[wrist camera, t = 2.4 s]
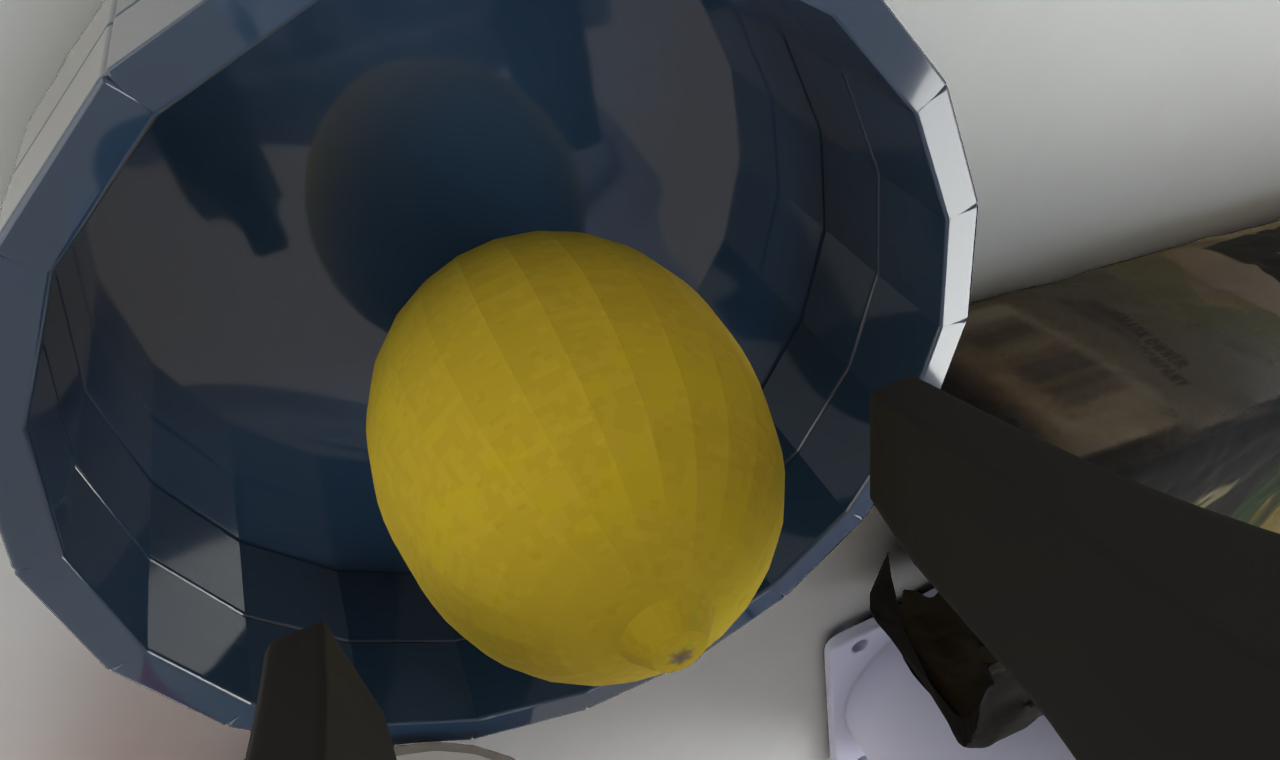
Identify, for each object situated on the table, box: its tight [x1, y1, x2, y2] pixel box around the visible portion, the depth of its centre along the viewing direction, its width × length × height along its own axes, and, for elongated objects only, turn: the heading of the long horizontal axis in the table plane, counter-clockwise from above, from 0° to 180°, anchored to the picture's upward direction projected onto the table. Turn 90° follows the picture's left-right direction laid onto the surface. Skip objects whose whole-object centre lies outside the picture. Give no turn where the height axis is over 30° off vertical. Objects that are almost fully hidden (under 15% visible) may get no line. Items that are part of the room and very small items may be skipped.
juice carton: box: [870, 220, 1280, 748], centre depth 24 cm, size 20×10×6 cm, turn 93°
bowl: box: [0, 0, 978, 745], centre depth 15 cm, size 14×14×4 cm
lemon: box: [366, 231, 785, 686], centre depth 13 cm, size 6×6×8 cm
